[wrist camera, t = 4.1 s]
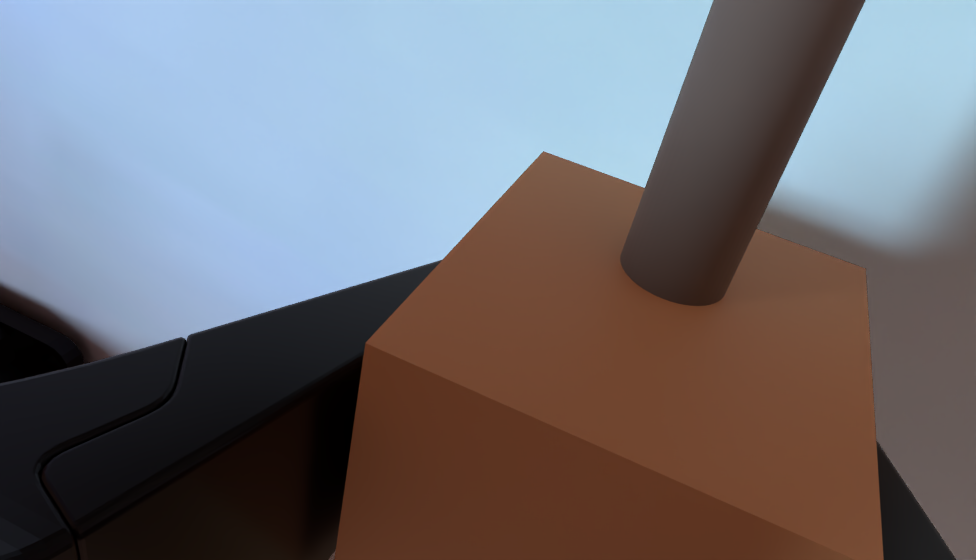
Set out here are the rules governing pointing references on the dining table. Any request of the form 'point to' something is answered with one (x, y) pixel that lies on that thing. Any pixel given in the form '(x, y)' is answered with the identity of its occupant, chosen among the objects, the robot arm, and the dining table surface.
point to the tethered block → (636, 349)
